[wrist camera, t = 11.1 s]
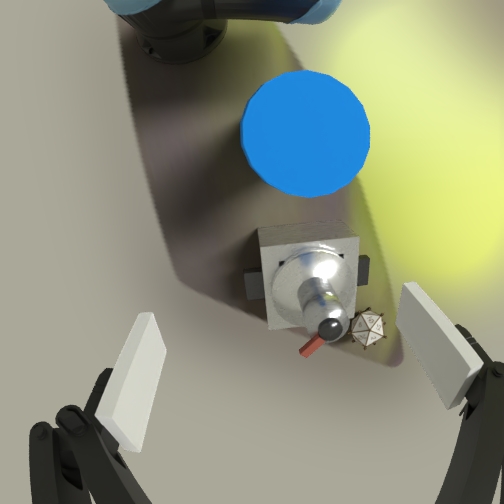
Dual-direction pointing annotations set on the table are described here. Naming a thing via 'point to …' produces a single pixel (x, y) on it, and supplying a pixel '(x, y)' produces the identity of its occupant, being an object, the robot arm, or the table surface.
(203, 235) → the table surface
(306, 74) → the thermos
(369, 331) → the game die
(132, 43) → the table surface
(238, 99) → the table surface
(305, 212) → the table surface
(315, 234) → the base
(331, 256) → the lid
